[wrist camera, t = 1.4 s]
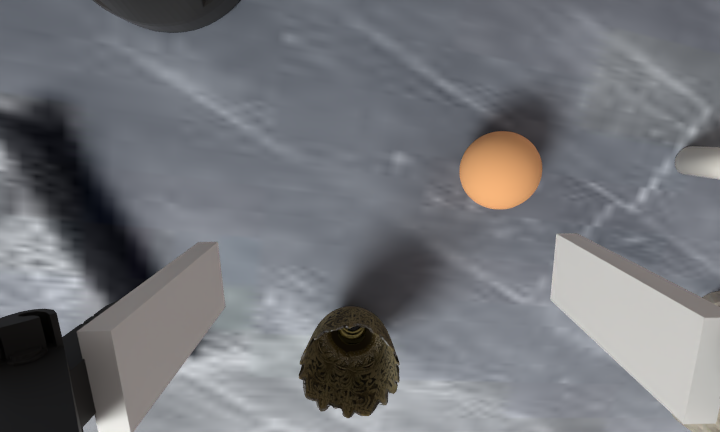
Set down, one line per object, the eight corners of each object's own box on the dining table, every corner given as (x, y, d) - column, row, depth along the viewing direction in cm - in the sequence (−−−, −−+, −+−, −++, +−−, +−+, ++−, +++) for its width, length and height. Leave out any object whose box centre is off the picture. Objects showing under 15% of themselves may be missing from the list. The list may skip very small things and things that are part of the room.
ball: (452, 132, 32) (472, 132, 27) (524, 129, 32) (560, 129, 26) (451, 203, 34) (470, 217, 28) (520, 200, 34) (554, 215, 28)
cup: (404, 300, 36) (415, 347, 28) (376, 368, 37) (379, 431, 29) (327, 274, 35) (317, 314, 27) (301, 343, 37) (285, 401, 29)
